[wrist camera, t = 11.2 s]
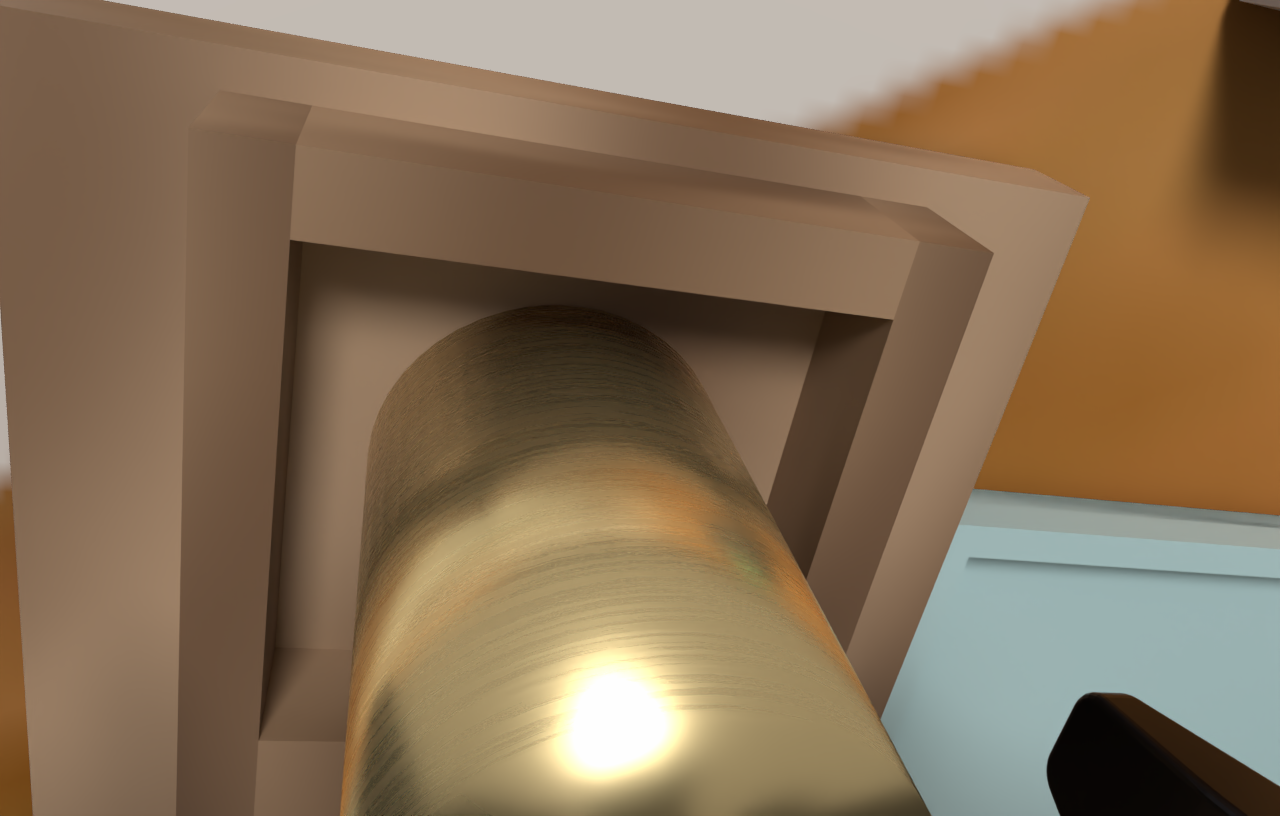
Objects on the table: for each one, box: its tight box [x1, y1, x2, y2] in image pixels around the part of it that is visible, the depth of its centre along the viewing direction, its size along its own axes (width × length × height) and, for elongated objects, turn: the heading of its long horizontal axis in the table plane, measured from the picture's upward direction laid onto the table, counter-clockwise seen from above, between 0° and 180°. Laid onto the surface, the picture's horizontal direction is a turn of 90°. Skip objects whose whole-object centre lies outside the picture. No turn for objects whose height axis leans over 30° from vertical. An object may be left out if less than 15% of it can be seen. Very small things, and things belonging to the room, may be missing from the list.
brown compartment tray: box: [0, 0, 1090, 816], centre depth 14 cm, size 11×17×3 cm, turn 168°
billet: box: [340, 305, 931, 816], centre depth 9 cm, size 4×4×6 cm
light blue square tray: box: [880, 489, 1280, 816], centre depth 18 cm, size 11×11×1 cm
